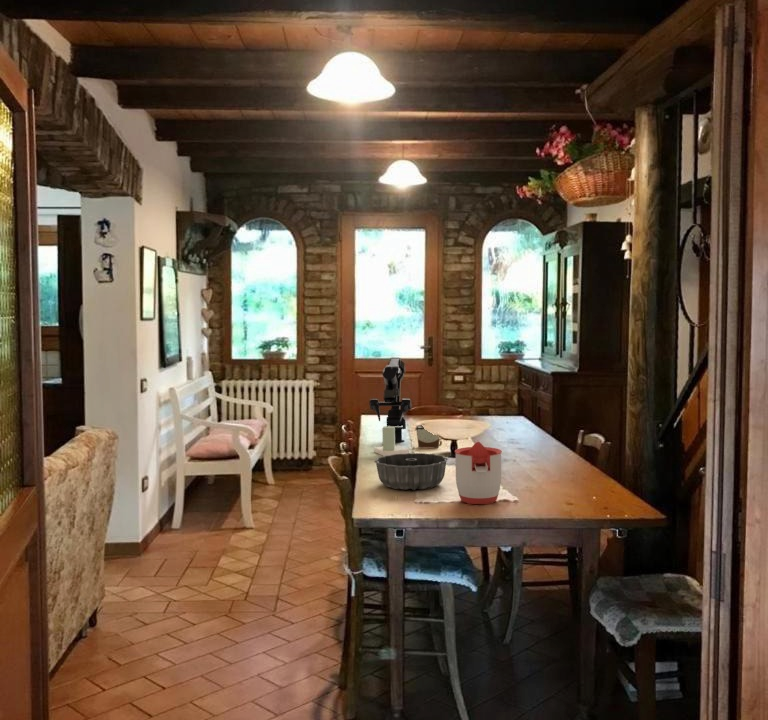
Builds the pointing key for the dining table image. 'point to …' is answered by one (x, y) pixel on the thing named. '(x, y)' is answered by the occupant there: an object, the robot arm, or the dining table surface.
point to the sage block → (388, 438)
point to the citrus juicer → (478, 474)
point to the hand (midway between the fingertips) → (389, 420)
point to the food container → (426, 438)
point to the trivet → (397, 451)
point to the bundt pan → (411, 470)
